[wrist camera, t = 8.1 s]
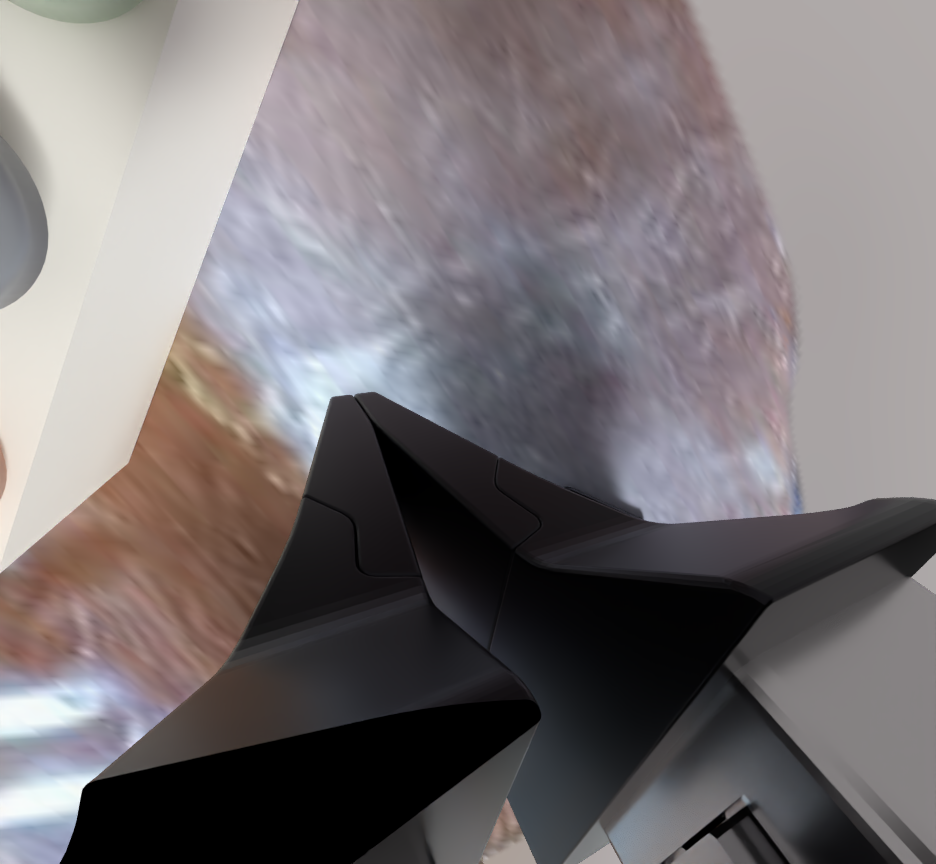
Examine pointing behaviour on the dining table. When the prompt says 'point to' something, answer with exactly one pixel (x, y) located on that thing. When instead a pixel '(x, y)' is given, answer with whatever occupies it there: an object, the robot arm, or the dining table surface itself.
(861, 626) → the robot arm
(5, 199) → the grey button
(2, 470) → the terracotta button
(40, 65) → the button bar
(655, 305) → the dining table surface
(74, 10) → the sage button
